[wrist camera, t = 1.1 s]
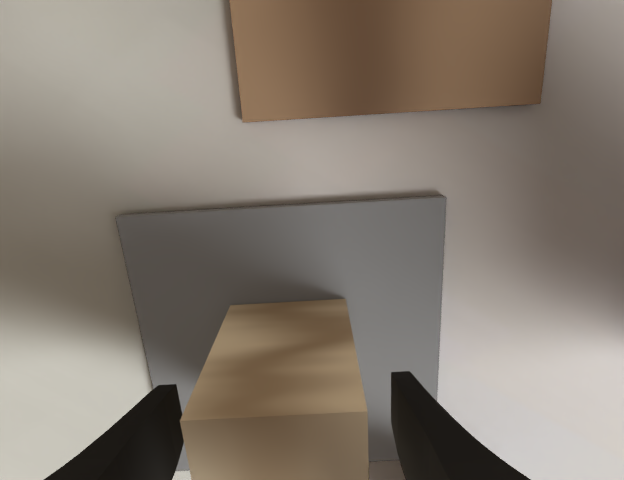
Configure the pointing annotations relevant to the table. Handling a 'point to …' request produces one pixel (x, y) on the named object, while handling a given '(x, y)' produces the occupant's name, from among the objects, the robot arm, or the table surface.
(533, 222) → the table surface
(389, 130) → the table surface
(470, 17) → the walnut pad
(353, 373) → the birch block
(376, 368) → the mat
